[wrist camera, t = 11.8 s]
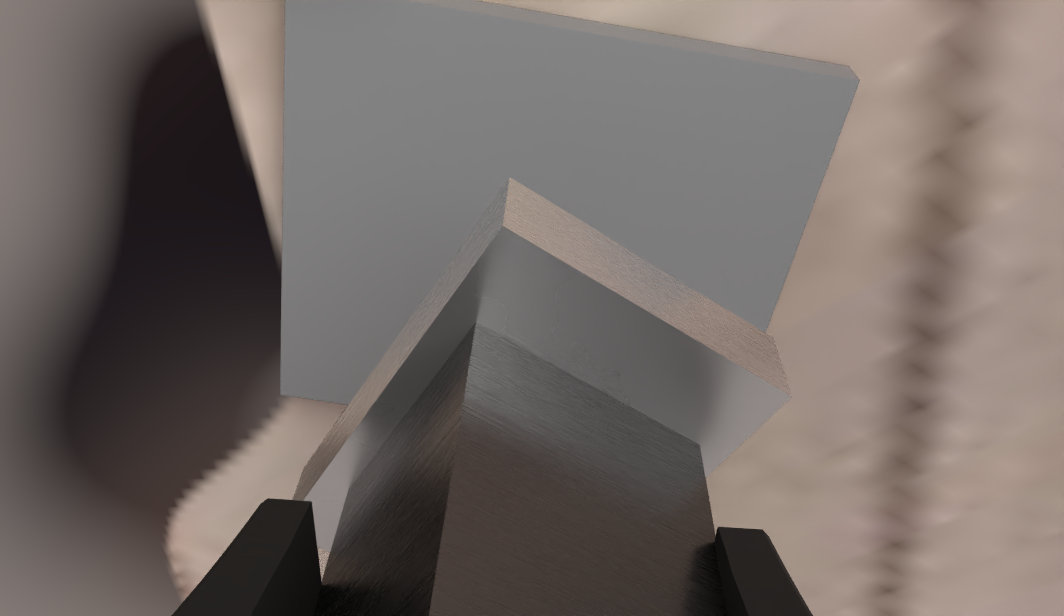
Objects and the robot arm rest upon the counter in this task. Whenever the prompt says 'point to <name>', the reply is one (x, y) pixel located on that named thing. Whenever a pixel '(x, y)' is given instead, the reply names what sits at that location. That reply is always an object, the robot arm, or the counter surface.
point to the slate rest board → (527, 159)
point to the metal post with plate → (540, 435)
